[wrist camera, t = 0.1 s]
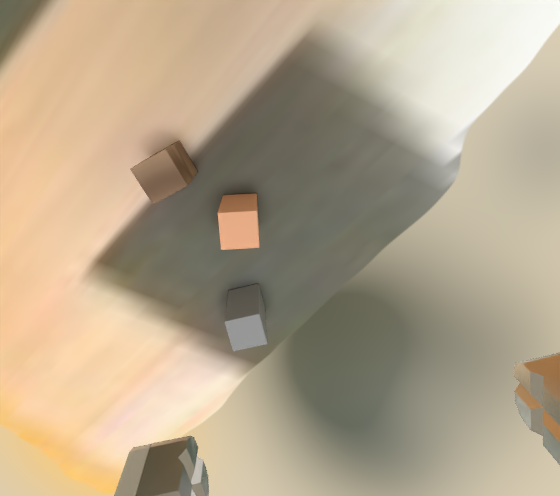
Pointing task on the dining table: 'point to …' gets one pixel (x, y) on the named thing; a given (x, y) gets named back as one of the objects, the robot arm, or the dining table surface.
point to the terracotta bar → (238, 221)
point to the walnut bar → (165, 172)
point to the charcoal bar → (246, 317)
